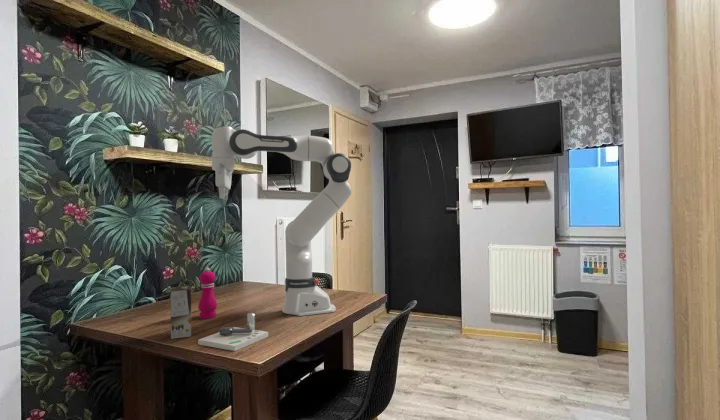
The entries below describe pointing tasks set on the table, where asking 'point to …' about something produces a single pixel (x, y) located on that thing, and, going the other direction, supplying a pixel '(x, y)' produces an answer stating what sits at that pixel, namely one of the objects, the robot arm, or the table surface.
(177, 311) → the coffee box
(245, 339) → the dial plate
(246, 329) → the crank
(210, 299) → the pepper mill
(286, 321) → the table surface
